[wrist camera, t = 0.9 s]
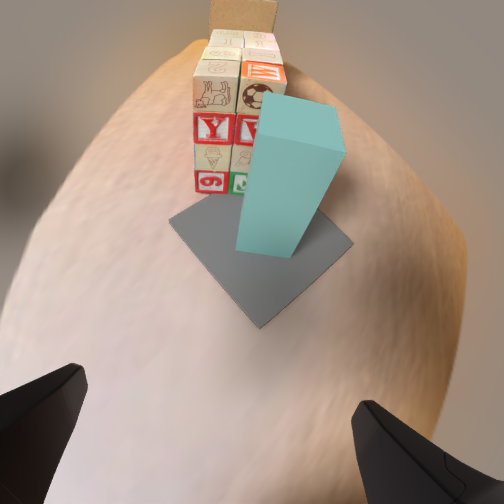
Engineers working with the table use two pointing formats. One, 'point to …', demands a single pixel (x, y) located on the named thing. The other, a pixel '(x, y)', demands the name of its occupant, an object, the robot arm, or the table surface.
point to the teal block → (288, 172)
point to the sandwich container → (243, 15)
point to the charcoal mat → (256, 256)
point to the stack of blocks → (231, 105)
